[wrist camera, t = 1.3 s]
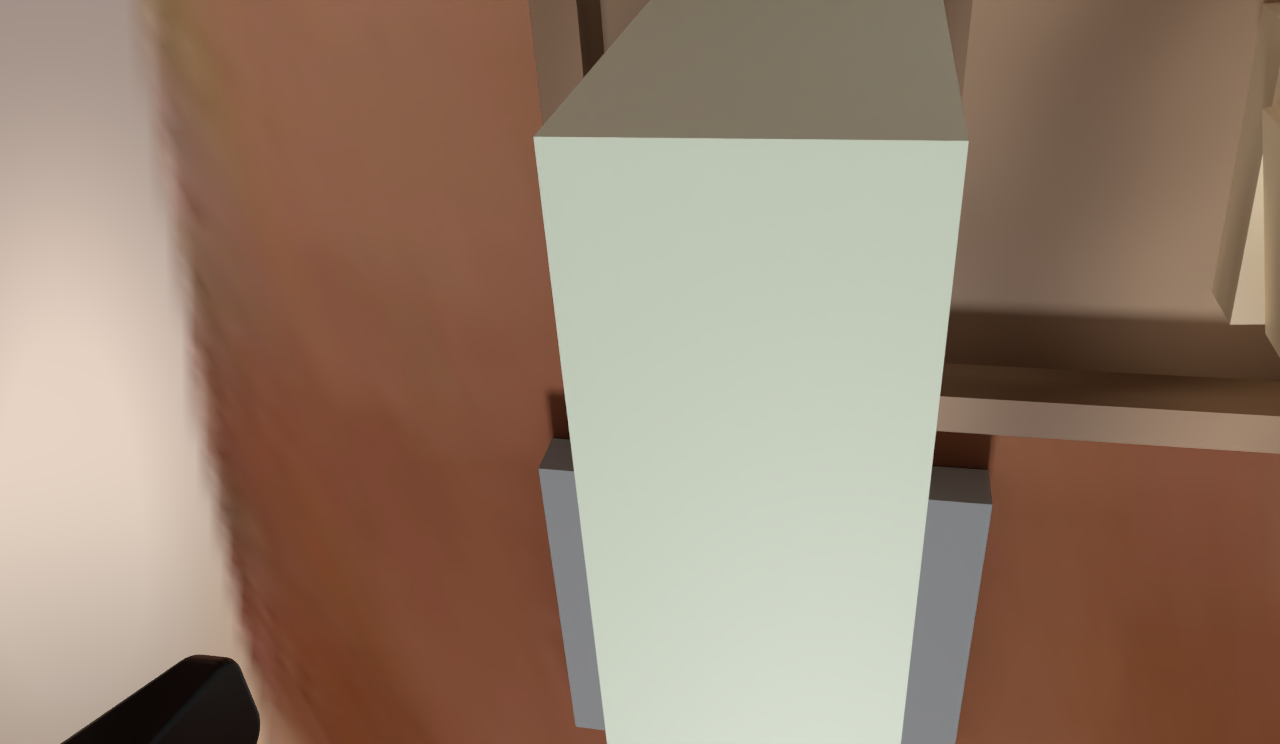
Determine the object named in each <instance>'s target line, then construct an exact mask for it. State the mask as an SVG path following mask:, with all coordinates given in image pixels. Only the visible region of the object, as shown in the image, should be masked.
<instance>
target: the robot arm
mask: <svg viewBox="0 0 1280 744" xmlns="http://www.w3.org/2000/svg"><path fill="white" fill-rule="evenodd" d="M259 731H260V717H259V713H258V710H257V707H256V705H255V703H254V700H253V698H252V695H251V693H250V690H249V688H248V686H247V683H246V681H245V678H244V676H243V673H242V671H241V669H240V667H239V665H238V664H237V663H236V662H235V661H234V660H233V659H231V658H227V657H218V656H209V655H193V656H190V657H187V658H185V659H183V660H182V661H180V662H179V663H177V664H176V665H174V666H173V667H171V668H170V669H168V670H167V671H165V672H164V673H163V674H161V675H160V676H158V677H157V678H155V679H154V680H152V681H151V682H149V683H148V684H147V685H145V686H144V687H142V688H141V689H139V690H138V691H136V692H135V693H134V694H132V695H131V696H129V697H128V698H126V699H125V700H123V701H122V702H120V703H119V704H118V705H116V706H115V707H113V708H112V709H110V710H109V711H107V712H106V713H104V714H103V715H102V716H100V717H99V718H97V719H96V720H94V721H93V722H91V723H90V724H89V725H87V726H86V727H84V728H83V729H81V730H80V731H78V732H77V733H75V734H74V735H73V736H71V737H70V738H68V739H67V740H65V741H64V742H62V743H61V744H257V740H258V736H259Z"/></svg>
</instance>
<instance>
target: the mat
mask: <svg viewBox="0 0 1280 744" xmlns="http://www.w3.org/2000/svg"><path fill="white" fill-rule="evenodd" d="M539 475H540V482H541V489H542V496H543V503H544V510H545V517H546V524H547V531H548V537H549V544H550V551H551V558H552V565H553V572H554V579H555V586H556V593H557V600H558V607H559V614H560V621H561V627H562V634H563V641H564V648H565V655H566V662H567V669H568V676H569V683H570V690H571V697H572V704H573V711H574V718H575V724H576V727H584V728H591V729H599V730H605V722H604V714H603V705H602V697H601V689H600V681H599V673H598V664H597V656H596V648H595V640H594V631H593V623H592V615H591V607H590V598H589V590H588V582H587V574H586V565H585V557H584V549H583V541H582V533H581V524H580V516H579V508H578V500H577V491H576V483H575V475H574V467H573V458H572V450H571V442H570V439H556V438H553V439H552V441H551V443H550V445H549V447H548V450H547V452H546V454H545V456H544V458H543V460H542V462H541V464H540V467H539ZM991 511H992V497H991V490H990V482H989V474H988V470H981V469H967V468H953V467H940V466H932V472H931V481H930V490H929V499H928V507H927V516H926V525H925V534H924V543H923V552H922V561H921V570H920V578H919V587H918V596H917V605H916V614H915V623H914V632H913V641H912V649H911V658H910V667H909V676H908V685H907V694H906V703H905V711H904V720H903V729H902V738H901V744H955V742H956V735H957V729H958V722H959V716H960V709H961V703H962V697H963V690H964V684H965V677H966V671H967V665H968V658H969V652H970V645H971V639H972V633H973V626H974V620H975V613H976V607H977V600H978V594H979V588H980V581H981V575H982V568H983V562H984V556H985V549H986V543H987V536H988V530H989V524H990V517H991Z"/></svg>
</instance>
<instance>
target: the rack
mask: <svg viewBox="0 0 1280 744" xmlns="http://www.w3.org/2000/svg"><path fill="white" fill-rule="evenodd" d="M943 1H944V6H945V12H946V17H947V23H948V28H949V34H950V40H951V45H952V51H953V56H954V62H955V67H956V73H957V78H958V84H959V89H960V95H961V100H962V106H963V111H964V117H965V123H966V128H967V134H968V139H969V144H968V153H967V161H966V170H965V179H964V188H963V197H962V206H961V215H960V224H959V232H958V241H957V250H956V259H955V268H954V277H953V286H952V294H951V303H950V312H949V321H948V330H947V339H946V348H945V357H944V365H943V374H942V383H941V392H940V401H939V410H938V419H937V428H936V431H945V432H960V433H975V434H990V435H1005V436H1021V437H1036V438H1051V439H1066V440H1081V441H1096V442H1111V443H1126V444H1141V445H1157V446H1172V447H1187V448H1202V449H1217V450H1232V451H1247V452H1262V453H1278V454H1280V357H1279V356H1278V354H1277V352H1276V351H1275V349H1274V347H1273V346H1272V344H1271V342H1270V341H1269V339H1268V337H1267V336H1266V334H1265V324H1248V325H1230V324H1229V322H1228V320H1227V318H1226V317H1225V315H1224V313H1223V311H1222V309H1221V308H1220V306H1219V304H1218V302H1217V300H1216V299H1215V297H1214V295H1213V293H1212V288H1213V282H1214V276H1215V271H1216V265H1217V260H1218V254H1219V248H1220V243H1221V237H1222V232H1223V226H1224V220H1225V215H1226V209H1227V204H1228V198H1229V192H1230V187H1231V181H1232V176H1233V170H1234V164H1235V159H1236V153H1237V148H1238V142H1239V136H1240V131H1241V125H1242V119H1243V114H1244V108H1245V103H1246V97H1247V91H1248V86H1249V80H1250V75H1251V69H1252V63H1253V58H1254V52H1255V47H1256V41H1257V35H1258V30H1259V24H1260V19H1261V13H1262V7H1263V4H1267V3H1280V0H943ZM648 2H649V0H529V9H530V17H531V26H532V35H533V43H534V52H535V60H536V69H537V78H538V86H539V95H540V104H541V112H542V121H543V125H544V124H545V122H546V121H547V120H548V119H549V118H550V117H551V115H552V114H553V113H554V112H555V111H556V110H557V108H558V107H559V106H560V105H561V104H562V103H563V101H564V100H565V99H566V98H567V97H568V95H569V94H570V93H571V92H572V91H573V90H574V88H575V87H576V86H577V85H578V84H579V83H580V81H581V80H582V79H583V78H584V77H585V76H586V74H587V73H588V72H589V71H590V70H591V68H592V67H593V66H594V65H595V64H596V63H597V61H598V60H599V59H600V58H601V57H602V56H603V54H604V53H605V52H606V51H607V50H608V49H609V47H610V46H611V45H612V44H613V43H614V41H615V40H616V39H617V38H618V37H619V36H620V34H621V33H622V32H623V31H624V30H625V29H626V27H627V26H628V25H629V24H630V23H631V22H632V20H633V19H634V18H635V17H636V16H637V14H638V13H639V12H640V11H641V10H642V9H643V7H644V6H645V5H646V4H647V3H648Z"/></svg>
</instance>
